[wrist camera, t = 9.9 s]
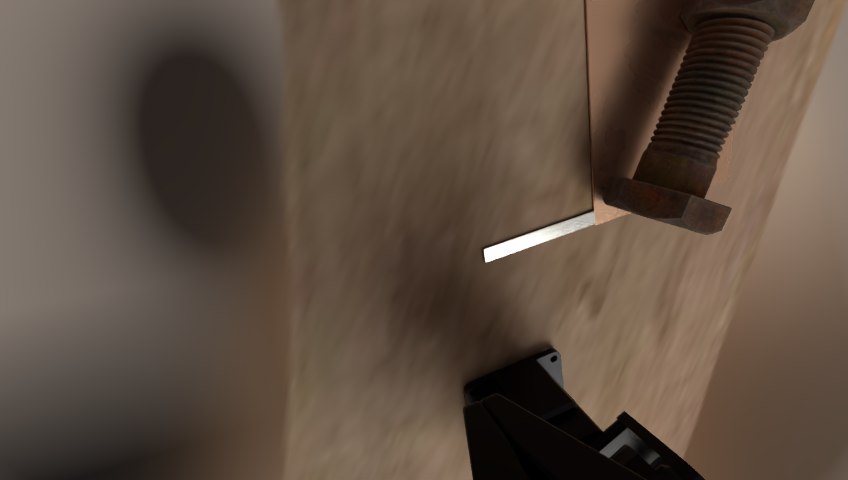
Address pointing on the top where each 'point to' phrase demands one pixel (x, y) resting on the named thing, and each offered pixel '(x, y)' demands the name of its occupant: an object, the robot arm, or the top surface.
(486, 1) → the top surface
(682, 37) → the seat and pad
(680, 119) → the bolt
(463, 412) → the robot arm
